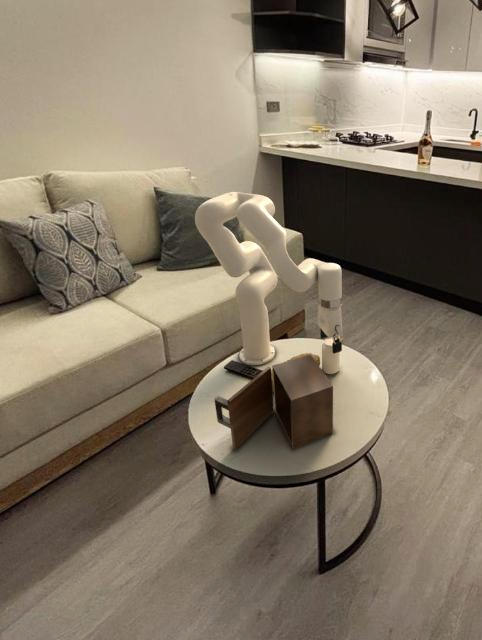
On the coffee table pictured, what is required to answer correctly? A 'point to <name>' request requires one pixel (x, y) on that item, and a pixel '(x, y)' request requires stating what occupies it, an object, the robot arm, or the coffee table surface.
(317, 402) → the cupboard
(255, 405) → the door
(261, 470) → the coffee table surface
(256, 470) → the coffee table surface
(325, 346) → the beverage can
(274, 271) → the robot arm
